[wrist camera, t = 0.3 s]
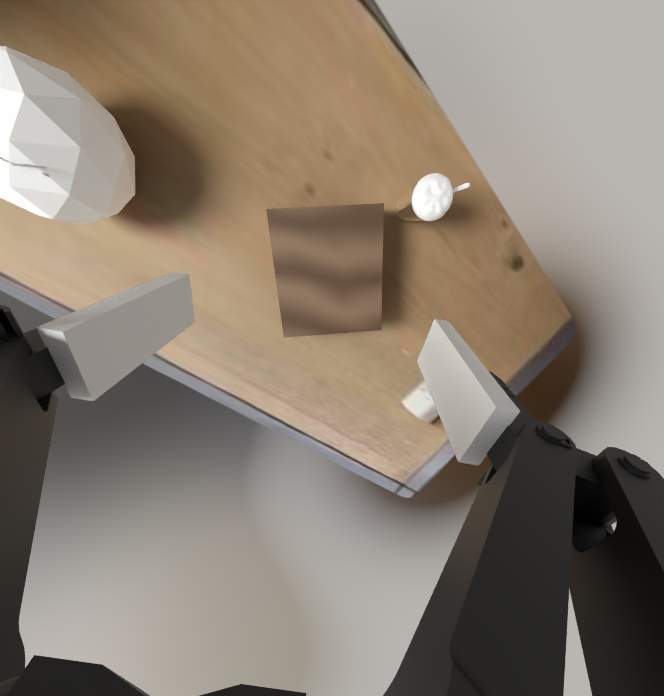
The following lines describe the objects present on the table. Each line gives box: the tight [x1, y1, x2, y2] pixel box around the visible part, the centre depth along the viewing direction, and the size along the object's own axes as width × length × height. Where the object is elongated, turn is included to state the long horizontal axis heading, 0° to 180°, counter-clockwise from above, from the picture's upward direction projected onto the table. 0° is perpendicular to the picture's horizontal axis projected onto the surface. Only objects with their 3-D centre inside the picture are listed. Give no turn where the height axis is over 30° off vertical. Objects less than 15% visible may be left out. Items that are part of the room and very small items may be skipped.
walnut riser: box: [267, 203, 384, 337], centre depth 35 cm, size 16×14×5 cm
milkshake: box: [396, 173, 470, 221], centre depth 30 cm, size 4×5×10 cm
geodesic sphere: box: [0, 46, 135, 226], centre depth 25 cm, size 14×14×14 cm
